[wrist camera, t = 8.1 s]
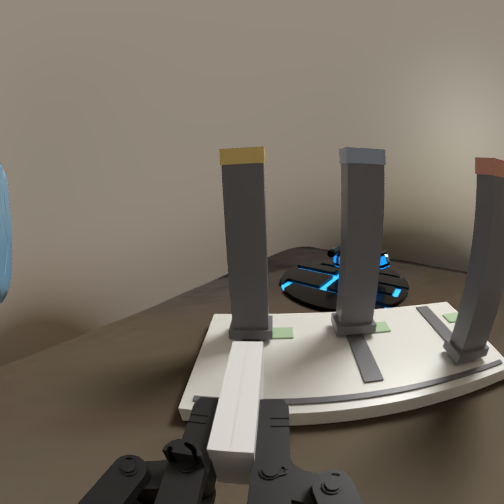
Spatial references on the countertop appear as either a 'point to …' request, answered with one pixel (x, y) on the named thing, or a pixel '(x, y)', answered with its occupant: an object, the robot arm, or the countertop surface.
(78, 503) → the robot arm
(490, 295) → the salmon tipped gray lever
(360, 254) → the slate paddle
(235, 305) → the mustard paddle
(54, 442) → the countertop surface
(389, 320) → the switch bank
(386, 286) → the platform
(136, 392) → the countertop surface
